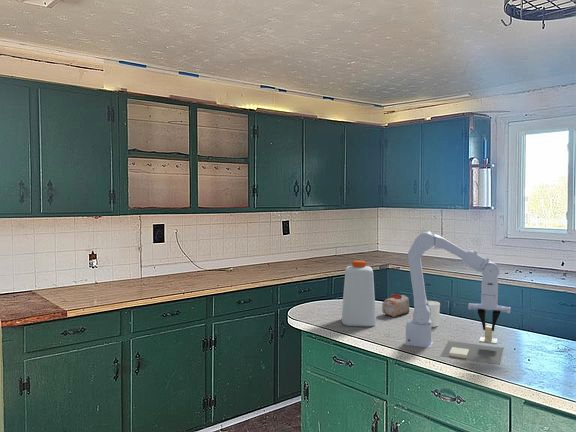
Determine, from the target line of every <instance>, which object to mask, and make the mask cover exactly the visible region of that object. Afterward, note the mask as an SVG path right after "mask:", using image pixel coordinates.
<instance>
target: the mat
mask: <svg viewBox="0 0 576 432" xmlns="http://www.w3.org/2000/svg"><path fill="white" fill-rule="evenodd" d="M452 347H456V348H463V349H469V354H468V357H467V359H465V358H458V357H451V356H449V352H450V350H451V348H452ZM503 352H504V347H501V346H500V347H499V346H492V345H483V344H477V343H476V344H474V343H468V342H460V341H459V342H458V341H452V340H448V341H447V343H446V345H445V347H444V348H443V350H442V352H441V354H440V357H442V358H450V359H456V360H457V359H458V360H463V361H471V362H477V363H484V364H485V363H486V364H492V365H499V366H500V365H501V363H502V359H503V358H502V357H503Z"/></svg>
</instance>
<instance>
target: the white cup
mask: <svg viewBox="0 0 576 432" xmlns="http://www.w3.org/2000/svg"><path fill="white" fill-rule="evenodd" d="M427 303H428V305H429V306H430V308H431V314H430V318H429V319H430V320H431V328H435V327H438V326H439V321H440V311H441V310H440V307H441V303H440V301H436V300H435V301H434V300H427Z"/></svg>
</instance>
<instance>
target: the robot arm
mask: <svg viewBox="0 0 576 432" xmlns="http://www.w3.org/2000/svg"><path fill="white" fill-rule="evenodd" d="M433 246H434V248H433ZM431 248H433V249H435V250H436V249H442V250H445V251H446V252H449V253H450V254H453V255H454V256H456V257H459V258H460V259H461V261H462V263H463V264H464V265H465V266H467V267H469V268H470V269H472V270H474V271H476V272H478V273H481V274H482V279H481V286H480V289H481V294H480V300H481V301H480V303H470V302H469V303H468V307H467V309H468V310H477V315H478V317H479V319H480V322H481V325H482V330H483V331H485V326H487V324H486V315H487V314H486V312H487V311H488V312H492V314H491V315H492V321H491V322H492V325H491V326H492V332H495V326H496V323H497V321H498V319H499V318H500V317H499V316H501V313H506V314H511V306H504V305H499V304H498V300H499V299H498V298H499V292H498V291H499V282H498V280H499V274H500V269H499V267H498V265H497V264H496V263H495V262H494V261H493V260H490V258H488V257H484V256H482V255H480V254H479V252H478V251H477V250H471V249H470V250H465V249H463V248H461V247H460V246H458V245H456V244H454V242H452V241H449V240H448V239H447V238H444V237H443V236H441V235H439V234H436V233H433V232H432V231H430V230H425V231H422V232H421V233H420V234H419V235H417V237H416V238H415V239H414V241H413V243H412V245H411V246H410V249H409V251H408V253H407V257H408V264H409V265H408V266H409V273H410V280H411V285H412V286H411V289H412V295H413V308H414V309H413V311H412V319H411V320H407V321H406V323H405V324H406V326H405V346H413V347H422V348H427V349H430V348H431V347H432V345H433V344H434V341H433V340H432V327H431V320H430V319H429V318H430V314H431V308H430V306H429V305H428V303H427V301H428V299H427V295H426V294H427V293H426V288H425V280H424V273H423V266H422V265H423V263H422V256H423V255H424V254H425V252H427V251H429V250H430V249H431Z"/></svg>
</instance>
